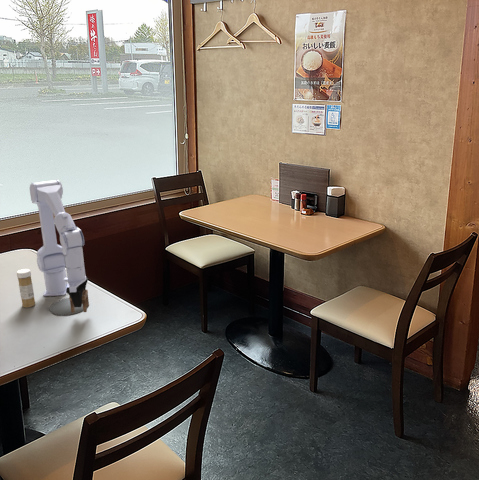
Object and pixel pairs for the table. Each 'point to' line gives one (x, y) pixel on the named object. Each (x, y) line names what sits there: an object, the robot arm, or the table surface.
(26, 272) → the sprinkles bottle
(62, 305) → the mat
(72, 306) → the stool
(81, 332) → the table surface
